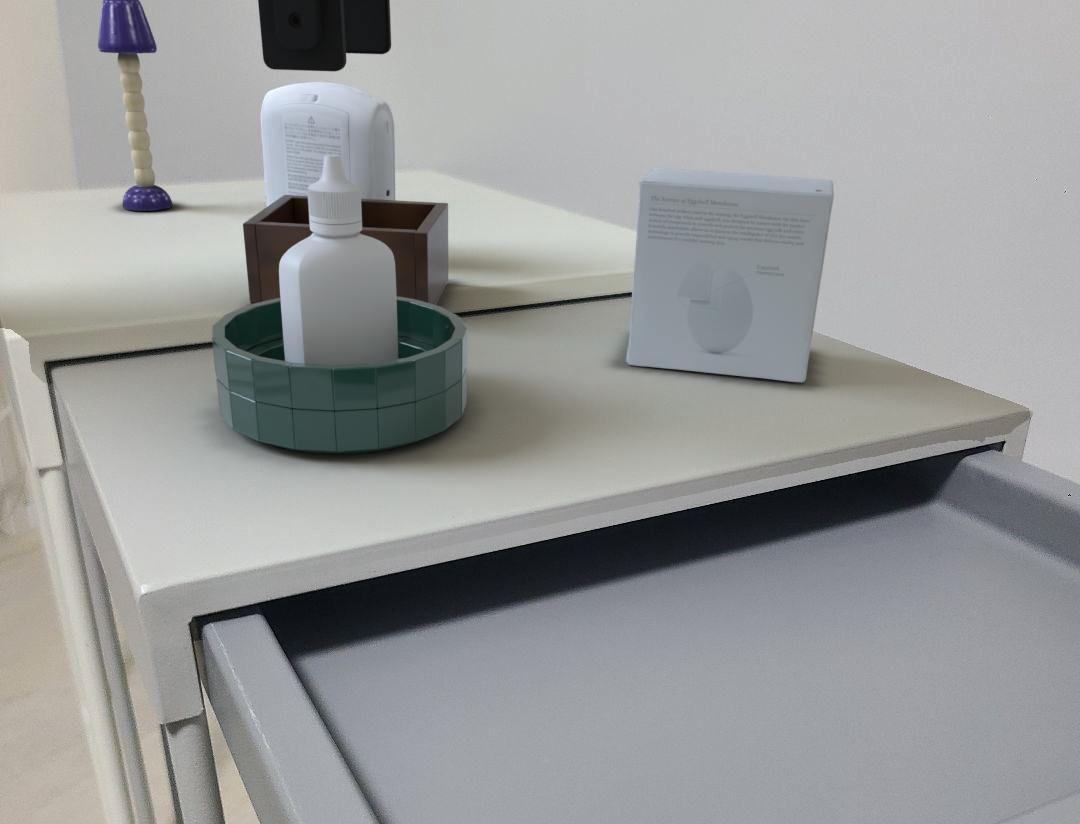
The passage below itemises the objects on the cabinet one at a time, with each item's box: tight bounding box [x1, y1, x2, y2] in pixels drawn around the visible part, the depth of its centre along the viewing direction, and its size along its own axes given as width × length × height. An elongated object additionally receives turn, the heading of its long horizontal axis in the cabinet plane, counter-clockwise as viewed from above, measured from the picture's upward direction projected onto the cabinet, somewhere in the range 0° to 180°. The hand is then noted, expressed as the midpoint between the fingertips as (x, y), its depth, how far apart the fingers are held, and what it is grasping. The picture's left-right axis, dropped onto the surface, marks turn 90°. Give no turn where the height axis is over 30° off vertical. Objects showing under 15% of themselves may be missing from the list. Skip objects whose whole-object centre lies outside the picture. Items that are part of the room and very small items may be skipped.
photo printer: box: [260, 81, 396, 208], centre depth 80 cm, size 10×4×12 cm, turn 69°
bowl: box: [211, 296, 468, 455], centre depth 54 cm, size 12×12×4 cm
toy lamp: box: [97, 0, 173, 212], centre depth 92 cm, size 5×5×17 cm
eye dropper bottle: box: [279, 154, 398, 365], centre depth 52 cm, size 4×6×12 cm
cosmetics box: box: [625, 167, 835, 383], centre depth 62 cm, size 10×6×10 cm, turn 77°
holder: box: [242, 195, 449, 306], centre depth 72 cm, size 12×10×6 cm
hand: (333, 60), depth 47 cm, fingers open, 9 cm apart
